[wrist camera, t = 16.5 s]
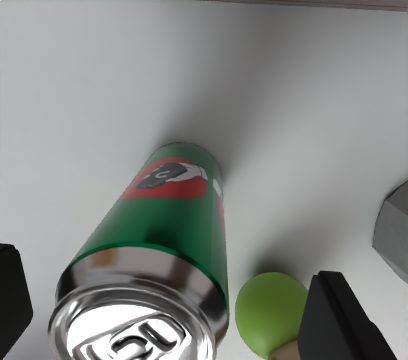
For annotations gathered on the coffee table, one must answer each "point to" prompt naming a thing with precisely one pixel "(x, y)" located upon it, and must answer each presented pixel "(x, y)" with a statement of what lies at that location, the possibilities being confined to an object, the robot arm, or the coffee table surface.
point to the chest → (336, 3)
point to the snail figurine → (271, 315)
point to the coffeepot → (394, 232)
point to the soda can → (150, 269)
